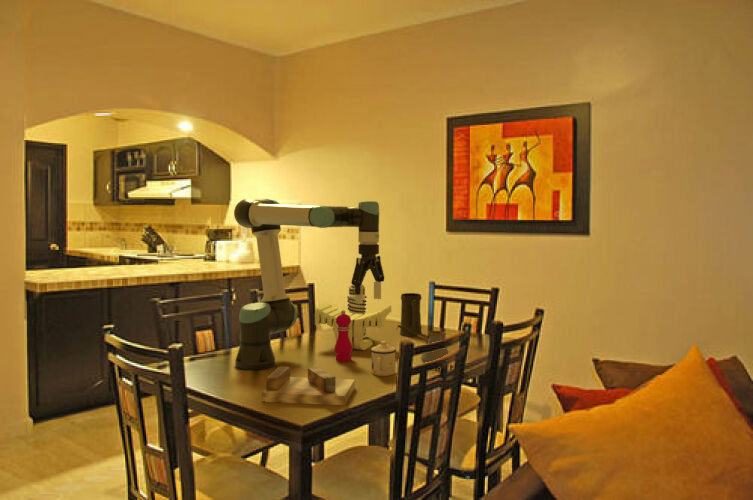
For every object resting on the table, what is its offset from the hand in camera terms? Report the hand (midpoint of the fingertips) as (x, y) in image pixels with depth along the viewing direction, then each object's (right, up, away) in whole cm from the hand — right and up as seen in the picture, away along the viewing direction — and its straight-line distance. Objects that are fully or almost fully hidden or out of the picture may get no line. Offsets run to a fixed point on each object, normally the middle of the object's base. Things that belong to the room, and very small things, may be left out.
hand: (368, 301), depth 218 cm
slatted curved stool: (-7, -24, +43) cm, 50 cm away
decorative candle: (-6, -23, +64) cm, 68 cm away
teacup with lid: (+5, -27, -2) cm, 27 cm away
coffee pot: (+21, -26, +12) cm, 35 cm away
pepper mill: (-10, -25, +19) cm, 33 cm away
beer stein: (+20, -22, +68) cm, 74 cm away
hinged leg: (-14, -25, -28) cm, 40 cm away
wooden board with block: (-18, -28, -27) cm, 43 cm away
